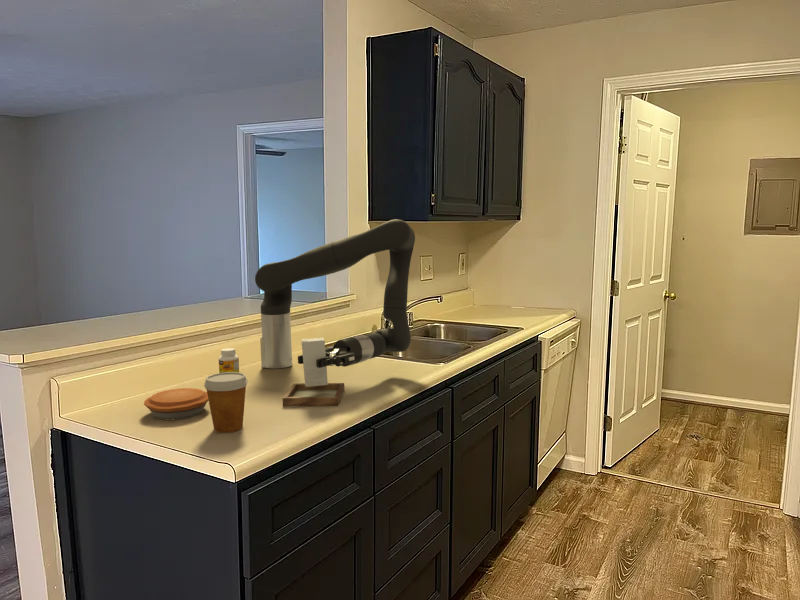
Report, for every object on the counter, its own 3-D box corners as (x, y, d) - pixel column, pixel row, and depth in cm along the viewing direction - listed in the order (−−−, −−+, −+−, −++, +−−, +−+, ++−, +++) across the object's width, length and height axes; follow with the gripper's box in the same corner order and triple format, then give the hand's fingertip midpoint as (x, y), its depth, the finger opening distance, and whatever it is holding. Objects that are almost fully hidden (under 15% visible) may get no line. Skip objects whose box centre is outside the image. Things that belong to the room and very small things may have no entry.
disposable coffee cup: (258, 423, 144) (255, 373, 142) (234, 437, 135) (231, 383, 133) (223, 419, 147) (220, 370, 145) (197, 433, 138) (194, 380, 136)
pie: (163, 403, 161) (162, 384, 161) (220, 404, 160) (219, 385, 159) (132, 422, 146) (130, 401, 145) (195, 423, 145) (194, 402, 144)
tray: (282, 406, 156) (282, 398, 156) (293, 391, 170) (293, 383, 170) (338, 406, 156) (337, 397, 156) (344, 390, 170) (344, 382, 169)
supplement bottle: (215, 385, 177) (213, 350, 176) (228, 380, 182) (226, 346, 181) (231, 387, 175) (229, 352, 174) (243, 382, 180) (242, 348, 179)
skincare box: (327, 381, 165) (324, 336, 164) (328, 385, 161) (325, 340, 159) (303, 383, 164) (301, 338, 163) (304, 387, 160) (301, 341, 158)
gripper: (335, 334, 176) (289, 344, 164) (371, 339, 167) (325, 351, 155) (336, 360, 177) (290, 372, 165) (372, 366, 168) (327, 380, 156)
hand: (308, 362), depth 160 cm, fingers closed on skincare box, 7 cm apart
